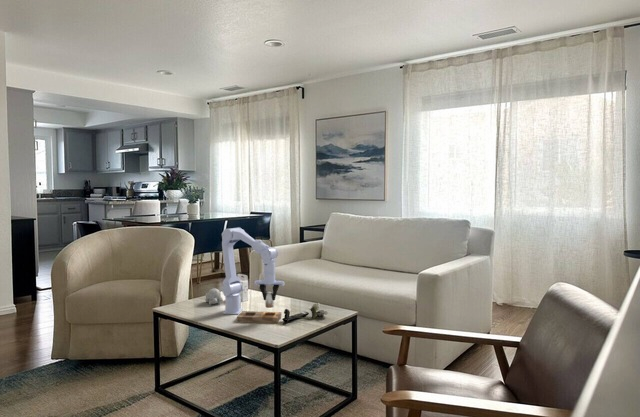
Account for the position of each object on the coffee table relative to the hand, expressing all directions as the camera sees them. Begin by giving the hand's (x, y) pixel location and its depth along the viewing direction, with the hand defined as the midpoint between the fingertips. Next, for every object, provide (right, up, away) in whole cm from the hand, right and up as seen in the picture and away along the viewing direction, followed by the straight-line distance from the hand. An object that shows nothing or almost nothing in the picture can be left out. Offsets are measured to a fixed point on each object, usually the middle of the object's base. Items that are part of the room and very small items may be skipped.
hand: (269, 299), depth 222 cm
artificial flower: (+17, -10, +2) cm, 20 cm away
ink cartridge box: (-21, -8, +39) cm, 45 cm away
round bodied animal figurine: (-35, -9, +31) cm, 48 cm away
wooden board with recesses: (-5, -10, +1) cm, 11 cm away
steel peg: (0, -3, 0) cm, 3 cm away
